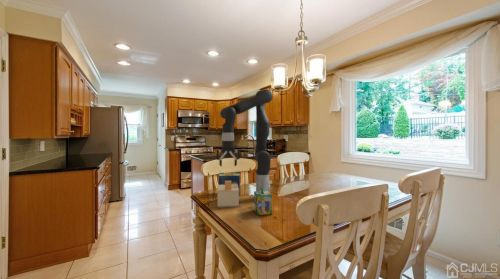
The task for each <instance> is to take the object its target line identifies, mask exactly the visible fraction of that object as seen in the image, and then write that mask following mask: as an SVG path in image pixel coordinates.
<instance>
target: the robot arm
mask: <svg viewBox="0 0 500 279" xmlns="http://www.w3.org/2000/svg"><path fill="white" fill-rule="evenodd" d="M273 99H274V94H273V92H272V90H270V89H268V88H267V89H261V90H258V91H257V92H256V93H255V95H254V96H252V97H249V98H246V99H243V100H241V101H239V102H237V103H235V104H231V105H227V106H226V107H223V108H222V109H221V110H220V113H219V114H220V117H221V118H222V119H224V123H222V127H221V129H222V132H221V133H222V134H221V149H216V157H215V158H216V160H218V161H219V163H218V164H219V165H218V166H220V167H222V166H223V164H222V163H223V159H224V157H232V158H233V159H234V163H233V164H234V166H233V167H237V165H238V160H240V159H241V157H240V149H235V130H234V129H235V128H234V127H235V122H236V119H237V115H240V114H243V113H245V112H248V110H251V109H254V108H255V109H256V110H255V112H256V113H255V116H256V118H255V119H256V121H255V122H256V123H255V142H256V143H255V150H254V151H255V152H254V159H255V162H256V163H257V166H256V167H257V168H256V170H255V191H261V188H260V186H261V187H262V189H263V191H269V192H270V193H271V190H270V188H271V186H270V171H271V162H272V161H271V155H270V153H269V152H268V151H267V141H268V138H269V135H270V121H269V120H270V119H269V118H268V116H267V113H266V104H268V103H270V102H271V101H273ZM220 153H222V155H221V156H220V155H219V154H220ZM235 153H236V154H237V155H236V156H237V157H236V156H235Z"/></svg>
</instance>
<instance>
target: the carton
mask: <svg viewBox="0 0 500 279" xmlns="http://www.w3.org/2000/svg"><path fill="white" fill-rule="evenodd" d="M239 199H240V196H239V191H224V192H217V209H218V208H220V209H222V208H239V207H240V206H239V205H240V200H239Z"/></svg>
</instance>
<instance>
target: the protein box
mask: <svg viewBox="0 0 500 279" xmlns="http://www.w3.org/2000/svg"><path fill="white" fill-rule="evenodd" d="M240 176H241V174H240V172H239V171H238V172H237V171H235V172H219V173H218V185H225V181H231V184H238V188H239V197H240V196H241V194H240V192H241V188H240V187H241V186H240V185H241V183H240V182H241V178H240Z"/></svg>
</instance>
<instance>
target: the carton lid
mask: <svg viewBox="0 0 500 279" xmlns="http://www.w3.org/2000/svg"><path fill="white" fill-rule="evenodd" d="M224 191H239V188H238V184H231V181H225V185H219V184H217V190H216V193H218V192H224Z"/></svg>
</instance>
